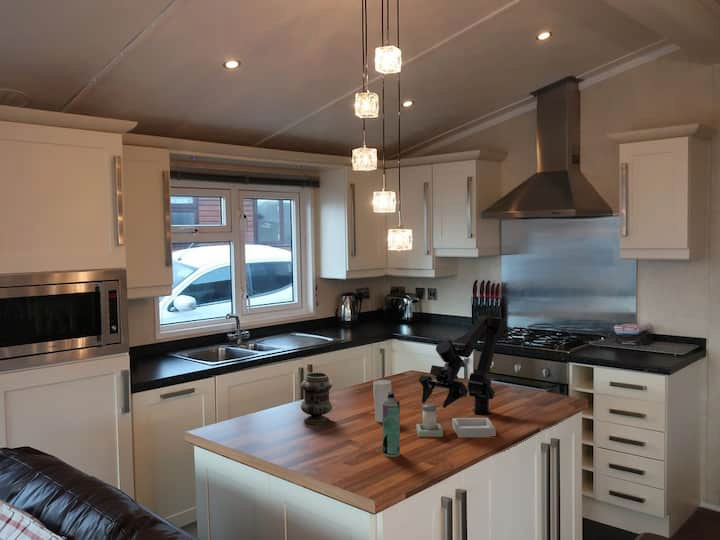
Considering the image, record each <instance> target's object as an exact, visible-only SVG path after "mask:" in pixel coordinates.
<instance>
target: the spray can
mask: <svg viewBox="0 0 720 540" xmlns="http://www.w3.org/2000/svg"><path fill="white" fill-rule="evenodd" d="M400 408H401V407H400V399H398V398H396V396H395V393H394V392H392V391H391V393H388V396H387V398H386V399H384V400H383V423H382V455H383V456H384V457H388V458H397V457H399V456H400V455H401V444H400V443H401V441H400V440H401V434H400V433H401V430H400V428H401V423H400V422H401V418H400V417H401V416H400V415H401V409H400Z"/></svg>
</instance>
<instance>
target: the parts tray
mask: <svg viewBox="0 0 720 540" xmlns="http://www.w3.org/2000/svg"><path fill="white" fill-rule="evenodd" d="M452 428H453V430H454V432H455V434H456V435H457V436H456V437H458V438H460V439H461V438H463V439H464V438H468V437H469V438H491V437H490V436H496V437H497V428H496V427H495V426H494V424H493V423H492V421H491V420H490V419H489V418H488V417H453V418H452ZM488 436H489V437H488Z"/></svg>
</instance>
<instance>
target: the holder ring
mask: <svg viewBox="0 0 720 540" xmlns="http://www.w3.org/2000/svg"><path fill="white" fill-rule="evenodd" d="M415 426H416V427H415V430H416V432H417V435H418V438H432V437H433V438H438V437H439V438H440V437H442V436H443V437H444V430H443V428H442V425H441V424H440V423H436V430H422V428H423V423H416V424H415ZM443 437H442V438H443Z"/></svg>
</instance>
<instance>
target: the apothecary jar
mask: <svg viewBox="0 0 720 540" xmlns="http://www.w3.org/2000/svg"><path fill="white" fill-rule="evenodd" d="M300 386H301V389H302V390H304V391H303V392H304V394H303V395H304V396H303V401H302V402H301V404H300V409H301V410H302V412H303V413H305V414H307V415H309V416H307V417H305V418H304V419H303V423H305V424H308V425H315V426H316V425H324V424H325V425H326V424H327V423H329V422H330V421H331V420H330V418H329V417H327V416H325V415H326V414H328V413H330V412H331V411H332V409H333V403H332V402H331V401H330V390H331V389H332V387H333V382H332V380H330V379H329V375H328V373H326V372H321V371H314V372H308V373H306V374H305V378H304V380H302V382H301V383H300Z"/></svg>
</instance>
